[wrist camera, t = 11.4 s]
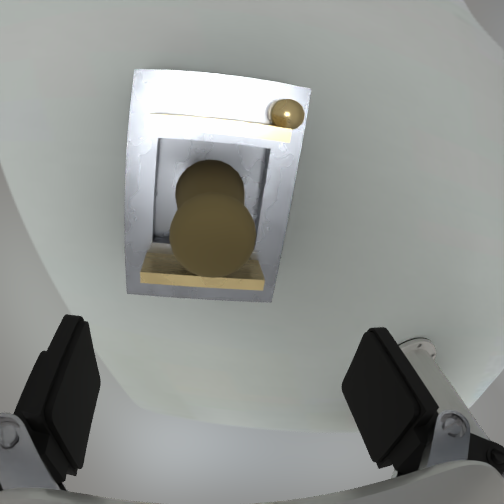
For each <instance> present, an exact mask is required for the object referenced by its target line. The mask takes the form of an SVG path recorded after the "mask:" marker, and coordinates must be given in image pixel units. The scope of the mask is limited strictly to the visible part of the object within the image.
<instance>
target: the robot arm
mask: <svg viewBox="0 0 504 504" xmlns="http://www.w3.org/2000/svg"><path fill="white" fill-rule="evenodd" d="M435 357H436V348H435V346H434V345H433V344H432V342H431V341H429V340H428V339H424V338H420V339H414V340H410V341H408V342H405V343H403V344H401V345H399V346H398V344H397V343H396V341H395V340H394V338H393V337H392V336H391V334H390V333H389V331H388V330H387V329H386V328H384V327H380V328H370V329H369V330H368V331H367V332H365V333H364V335H363V337H362V339H361V342H360V344H359V347H358V349H357V351H356V353H355V356H354V358H353V360H352V363H351V365H350V367H349V369H348V371H347V374H346V376H345V378H344V380H343V382H342V392H343V394H344V396H345V399H346V401H347V403H348V406H349V408H350V410H351V413H352V415H353V417H354V419H355V422H356V424H357V426H358V429H359V431H360V433H361V435H362V438H363V440H364V443H365V445H366V448H367V450H368V452H369V455H370V457H371V459H372V461H373V462H376V463H377V466H378V468H379V469H380V468H383V467H387V466H390V465H392V464H393V466H394V472H393V475H392V477H391V479H388V480H385V481H382V482H378V483H374V484H370V485H367V486H362V487H358V488H354V489H350V490H345V491H340V492H335V493H331V494H325V495H319V496H314V497H308V498H301V499H294V500H287V501H277V502H269V503H256V504H504V447H503V446H501V445H499V444H497V443H495V442H492V441H491V440H490V439H489V438H488V436H487V435H486V434H485V432H484V431H483V429H482V428H481V427H480V425H479V424H478V422H477V421H476V419H475V418H474V417H473V415H472V414H471V412H470V411H469V409H468V408H467V406H466V405H465V403H464V402H463V400H462V399H461V397H460V396H459V395H458V393H457V392H456V390H455V389H454V387H453V386H452V385H451V383H450V382H449V380H448V379H447V378H446V376H445V375H444V373H443V372H442V371H441V369H440V368H439V367H438V365H437V364H436V362H435V361H434V360H435ZM99 390H100V375H99V371H98V367H97V362H96V358H95V353H94V349H93V344H92V339H91V334H90V328H89V324H88V322H87V321H84V319H83V317H81V316H75V315H65V316H64V317H63V319H62V322H61V323H60V325H59V327H58V329H57V331H56V333H55V335H54V337H53V339H52V341H51V343H50V346H49V348H48V350H47V351H42V352H41V353H40V355H39V357H38V359H37V361H36V363H35V365H34V367H33V370H32V372H31V374H30V376H29V378H28V381H27V383H26V385H25V388H24V390H23V392H22V394H21V397H20V399H19V402H18V404H17V406H16V409H15V412H14V414H11V413H0V504H159V503H147V502H137V501H128V500H119V499H112V498H106V497H99V496H93V495H88V494H81V493H74V492H69V491H68V490H67V488H66V486H65V485H64V483H63V482H64V481H65V479H66V474H69V475H73V476H76V474H77V469H81V468H82V467H83V463H84V457H85V452H86V447H87V442H88V437H89V433H90V428H91V423H92V419H93V414H94V410H95V406H96V401H97V398H98V393H99Z"/></svg>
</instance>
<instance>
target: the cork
mask: <svg viewBox="0 0 504 504" xmlns="http://www.w3.org/2000/svg"><path fill="white" fill-rule="evenodd" d="M175 198H176V204H177V211H176V213H175V215H174V218H173V220H172V222H171V225H170V235H169V241H170V244H171V248H172V251H173V254H174V256H175V257H176V259H177V260H178V262H179V263H180V265H182V266H183V267H184V268H185V269H187V270H188V271H189V272H191V273H193V274H196V275H199V276H201V277H210V278H217V277H222V276H227V275H229V274H231V273H233V272H235V271H237V270H239V269H240V268H241V267H242V266H243V265H244V264H245V263H246V262H247V261H248V259H249V258H250V256H251V254H252V252H253V250H254V245H255V240H256V229H255V223H254V220H253V218H252V216H251V215H250V213H249V211H248V209H247V208H246V207H245V206H244V201H245V190H244V184H243V181H242V179H241V177H240V175H239V173H238V172H237V171H236V170H235V169H234V168H233V167H232V166H230V165H229V164H226V163H224V162H222V161H219V160H210V159H208V160H203V161H198V162H196V163H195V164H193V165H191V166H189V167H188V168H187V169H186V170H185V171H184V172H183V173H182V174H181V176H180V178H179V180H178V182H177V184H176V192H175Z"/></svg>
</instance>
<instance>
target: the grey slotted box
mask: <svg viewBox="0 0 504 504" xmlns="http://www.w3.org/2000/svg"><path fill="white" fill-rule="evenodd" d="M310 95H311V89H310V88H305V87H300V86H295V85H290V84H285V83H279V82H273V81H267V80H261V79H255V78H248V77H241V76H233V75H224V74H215V73H205V72H193V71H178V70H156V69H135V70H134V78H133V86H132V94H131V103H130V113H129V124H128V137H127V152H126V172H125V266H126V286H127V294H137V295H150V296H163V297H177V298H192V299H209V300H227V301H249V302H272V297H273V292H274V287H275V283H276V278H277V273H278V268H279V263H280V258H281V253H282V248H283V243H284V238H285V233H286V228H287V223H288V218H289V212H290V207H291V202H292V197H293V191H294V186H295V180H296V175H297V170H298V164H299V158H300V153H301V147H302V142H303V136H304V130H305V124H306V119H307V113H308V107H309V101H310ZM208 159H210V160H219V161H222V162H224V163H226V164H229V165H230V166H232V167H233V168H234V169H235V170H236V171H237V172H238V173H239V175H240V177H241V179H242V181H243V184H244V190H245V201H244V206H245V207H246V208H247V209H248V211H249V213H250V215H251V216H252V218H253V220H254V223H255V229H256V240H255V245H254V250H253V252H252V254H251V256H250V258H249V259H248V261H247V262H246V263H245V264H244V265H243V266H242V267H241V268H240V269H239V270H237V271H235V272H233V273H231V274H229V275H227V276H222V277H217V278H210V277H201V276H199V275H196V274H193V273H191V272H189V271H188V270H187V269H185V268H184V267H183V266H182V265H180V263H179V262H178V260H177V259H176V257H175V256H174V254H173V251H172V248H171V244H170V241H169V235H170V225H171V222H172V220H173V218H174V215H175V213H176V211H177V204H176V198H175V192H176V184H177V182H178V180H179V178H180V176H181V174H182V173H183V172H184V171H185V170H186V169H187V168H188V167H189V166H191V165H193V164H195V163H196V162H198V161H203V160H208Z"/></svg>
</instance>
